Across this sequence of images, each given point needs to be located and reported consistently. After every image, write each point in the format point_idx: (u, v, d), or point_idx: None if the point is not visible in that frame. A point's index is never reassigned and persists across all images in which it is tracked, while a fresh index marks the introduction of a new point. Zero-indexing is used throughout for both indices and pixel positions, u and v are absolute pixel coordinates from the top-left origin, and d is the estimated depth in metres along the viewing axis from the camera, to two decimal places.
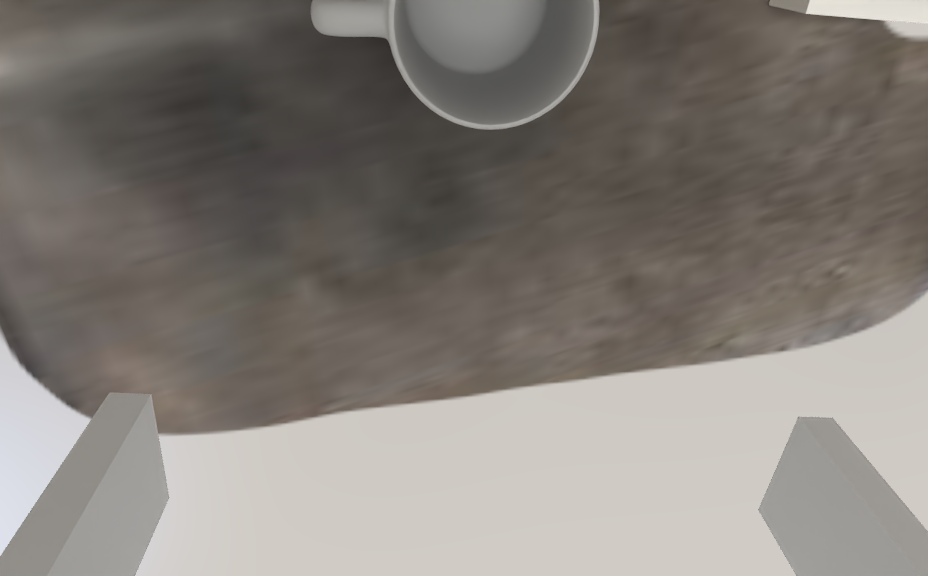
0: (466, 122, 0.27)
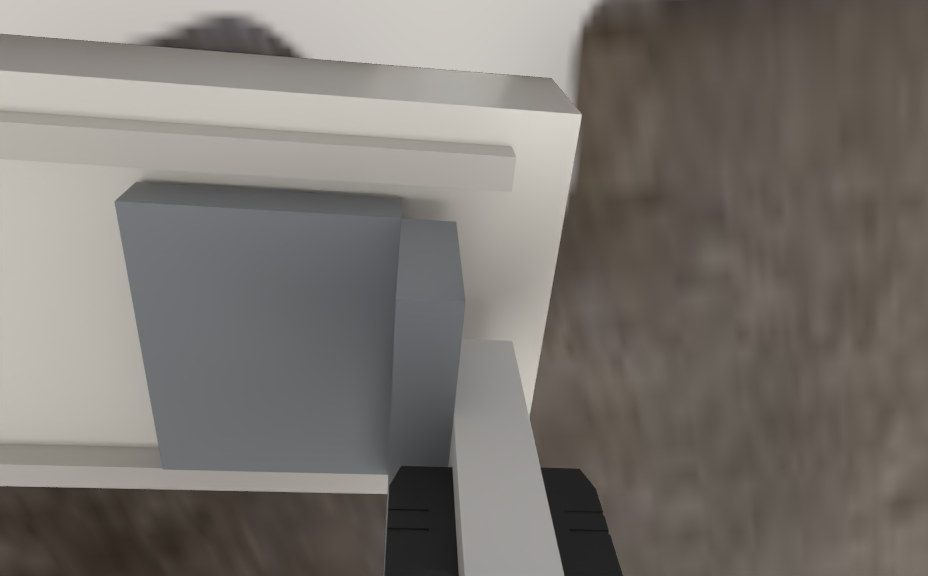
0: None
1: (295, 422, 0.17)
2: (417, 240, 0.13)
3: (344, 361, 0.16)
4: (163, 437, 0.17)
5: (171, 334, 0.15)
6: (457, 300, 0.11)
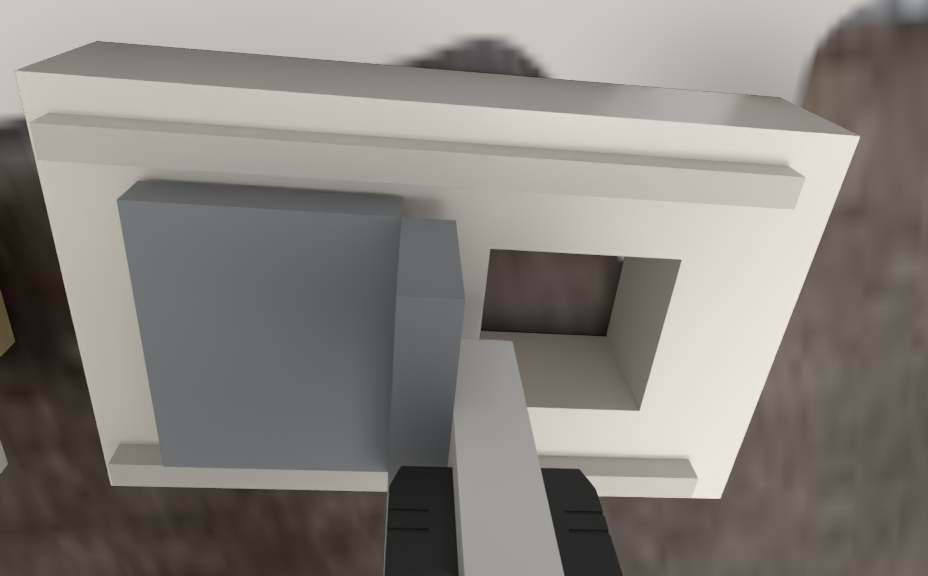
0: None
1: (295, 420, 0.17)
2: (417, 238, 0.13)
3: (344, 359, 0.16)
4: (164, 434, 0.17)
5: (172, 332, 0.15)
6: (457, 298, 0.11)
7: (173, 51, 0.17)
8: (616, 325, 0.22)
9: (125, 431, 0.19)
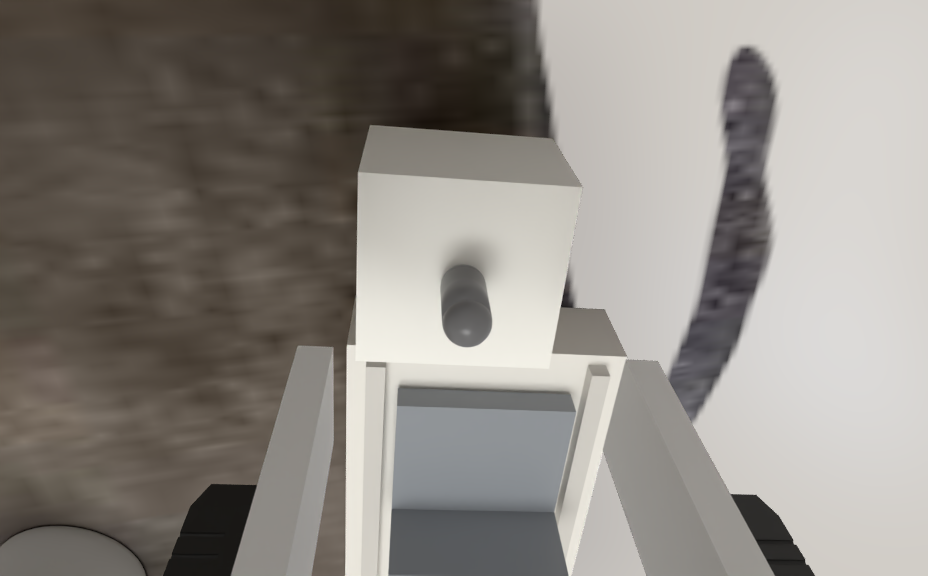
0: None
1: (433, 470, 0.29)
2: None
3: (474, 491, 0.30)
4: (424, 410, 0.27)
5: (497, 423, 0.28)
6: None
7: None
8: None
9: None
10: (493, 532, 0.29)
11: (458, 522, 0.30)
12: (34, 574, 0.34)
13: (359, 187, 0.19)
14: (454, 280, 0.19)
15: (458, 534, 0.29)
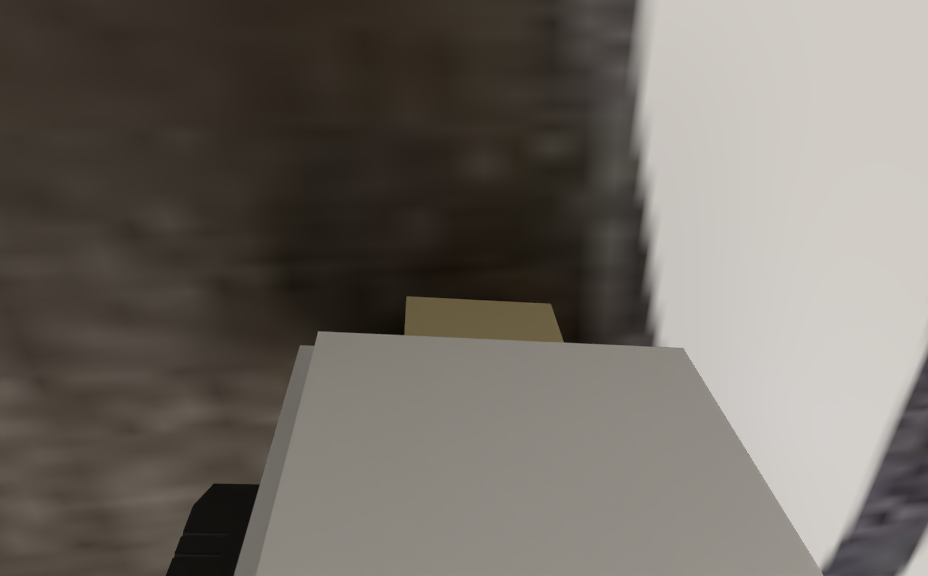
0: None
1: None
2: None
3: None
4: None
5: None
6: None
7: None
8: None
9: None
10: None
11: None
12: None
13: None
14: None
15: None
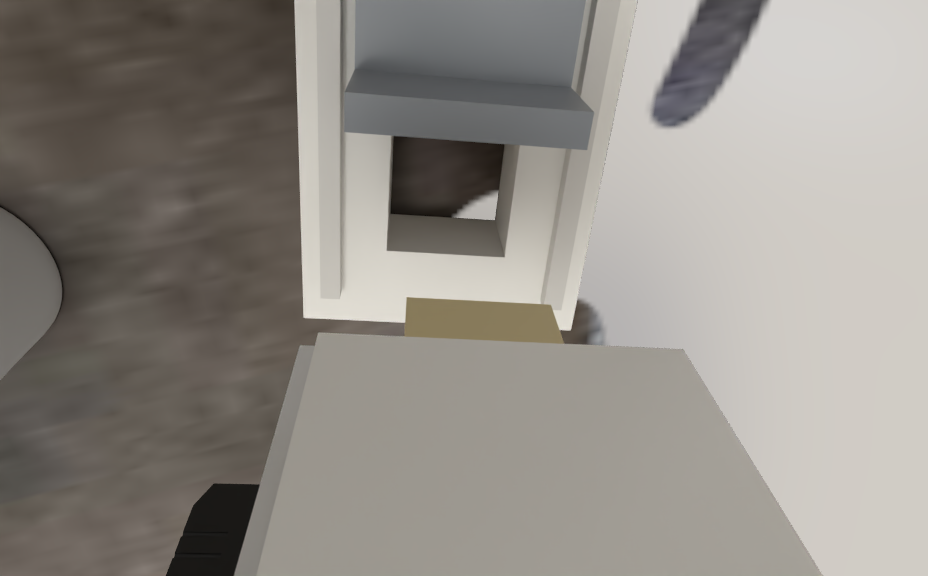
0: None
1: None
2: None
3: (465, 41, 0.22)
4: None
5: None
6: (587, 145, 0.21)
7: None
8: (409, 221, 0.30)
9: None
10: (490, 88, 0.22)
11: (443, 80, 0.22)
12: None
13: None
14: None
15: (443, 85, 0.22)
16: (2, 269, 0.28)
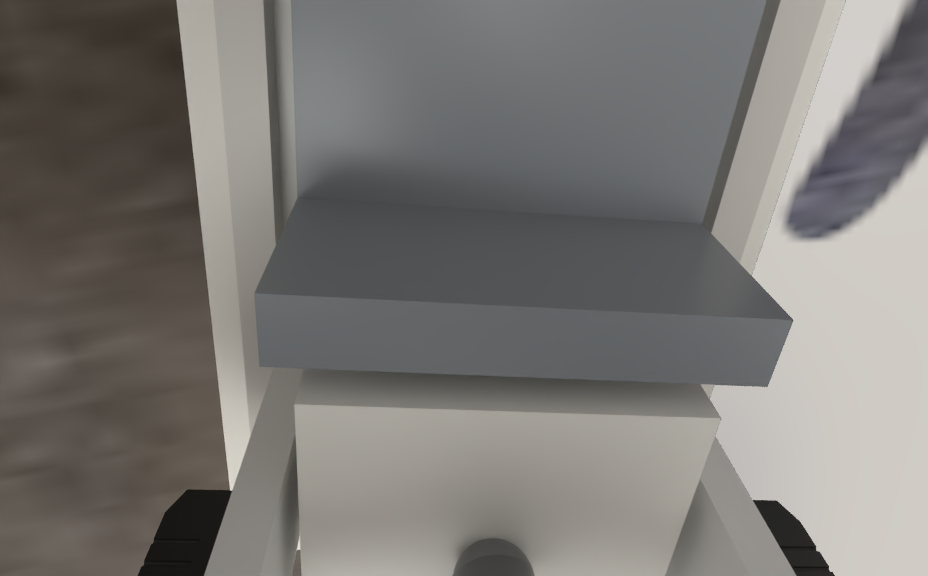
0: None
1: (401, 63, 0.11)
2: None
3: (509, 145, 0.12)
4: None
5: None
6: (770, 378, 0.10)
7: None
8: None
9: None
10: (560, 241, 0.11)
11: (467, 223, 0.11)
12: None
13: (298, 428, 0.10)
14: None
15: (468, 239, 0.11)
16: None
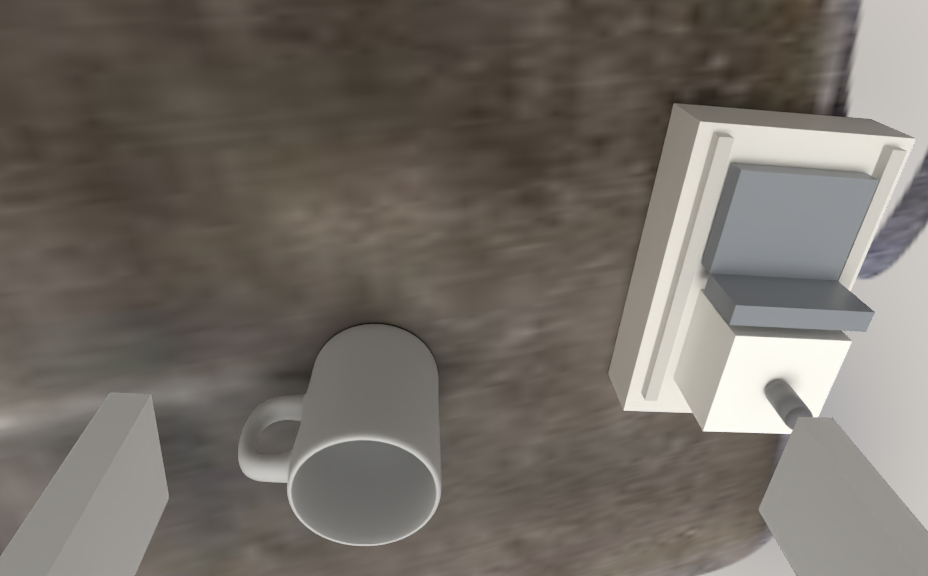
0: (349, 543, 0.37)
1: (753, 234, 0.35)
2: None
3: (779, 257, 0.36)
4: (761, 174, 0.34)
5: (815, 189, 0.34)
6: (866, 329, 0.35)
7: None
8: None
9: (735, 138, 0.34)
10: (798, 288, 0.36)
11: (767, 282, 0.36)
12: (379, 350, 0.40)
13: (734, 342, 0.34)
14: (783, 392, 0.35)
15: (772, 288, 0.36)
16: (432, 380, 0.42)
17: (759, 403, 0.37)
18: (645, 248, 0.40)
